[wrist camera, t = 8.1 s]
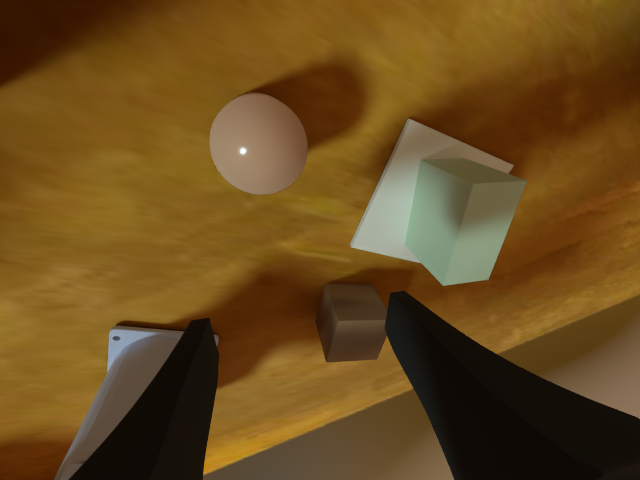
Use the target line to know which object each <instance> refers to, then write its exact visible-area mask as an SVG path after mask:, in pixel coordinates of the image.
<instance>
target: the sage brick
mask: <svg viewBox="0 0 640 480" xmlns="http://www.w3.org/2000/svg"><path fill="white" fill-rule="evenodd" d="M526 183H527V180H524V179H522V178H519V177H516V176H513V175H510V174H508V173H505V172H502V171H499V170H496V169H493V168H491V167H488V166H485V165H482V164H479V163H477V162H474V161H471V160H468V159H465V158H452V159H428V160H420V165H419V171H418V176H417V181H416V186H415V192H414V197H413V202H412V208H411V213H410V218H409V223H408V229H407V234H406V239H405V244H404V245H405V246H406V247H407V248H408V249H409V250H410V251H411V252H412V253H413V254H414V255H415V256H416V258H417V259H418V260H419V261H420V262H421V263H422V264H423V265H424V266H425V267H426V268H427V269H428V270H429V271H430V272H431V274H432V275H433V276H434V277H435V278H436V279H437V280H438V281H439V282H440V283H441V284H442V285H443V286H446V285H453V284H461V283H468V282H475V281H482V280H489V277H490V275H491V272H492V269H493V267H494V264H495V262H496V259H497V257H498V254H499V252H500V249H501V247H502V244H503V242H504V239H505V236H506V234H507V231H508V229H509V226H510V224H511V221H512V219H513V216H514V214H515V211H516V209H517V206H518V203H519V201H520V198H521V196H522V193H523V191H524V188H525V186H526Z"/></svg>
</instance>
